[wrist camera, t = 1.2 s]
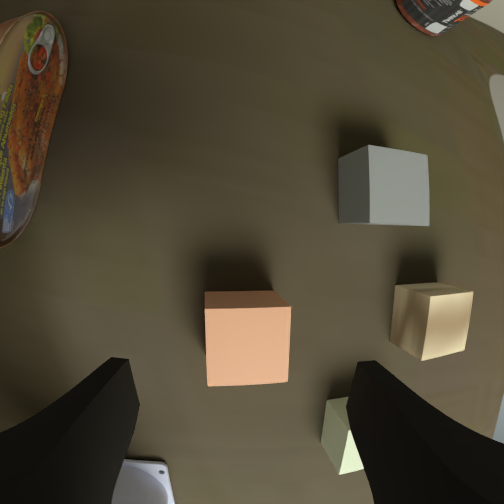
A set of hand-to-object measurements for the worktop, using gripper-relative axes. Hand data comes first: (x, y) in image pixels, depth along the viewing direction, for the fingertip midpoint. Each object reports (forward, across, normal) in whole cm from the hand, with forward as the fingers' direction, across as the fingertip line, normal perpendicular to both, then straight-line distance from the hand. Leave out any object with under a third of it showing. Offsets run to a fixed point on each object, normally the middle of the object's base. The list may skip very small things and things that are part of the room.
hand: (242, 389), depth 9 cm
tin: (+12, +15, -9) cm, 21 cm away
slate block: (+14, -9, -4) cm, 17 cm away
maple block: (+13, -14, +4) cm, 19 cm away
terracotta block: (+11, 0, +4) cm, 12 cm away
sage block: (+10, -9, +13) cm, 19 cm away
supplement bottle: (+20, -16, -23) cm, 34 cm away
